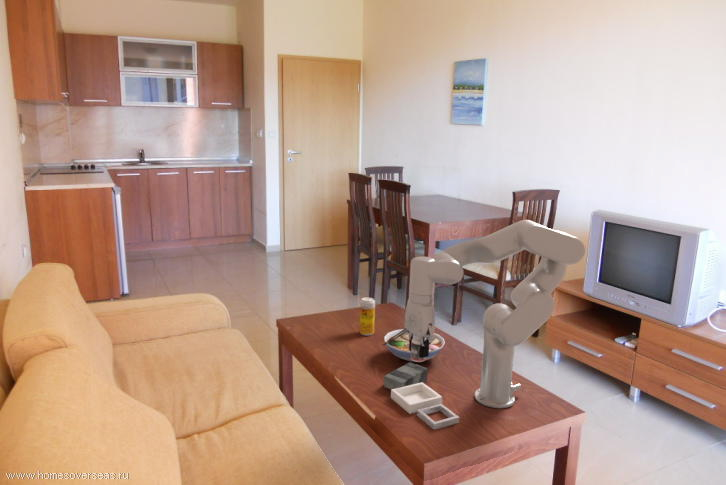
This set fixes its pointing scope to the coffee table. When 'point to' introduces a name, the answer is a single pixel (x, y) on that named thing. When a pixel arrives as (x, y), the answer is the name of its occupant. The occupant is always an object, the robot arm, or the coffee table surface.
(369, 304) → the glass of beer
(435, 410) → the square open frame
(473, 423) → the coffee table surface
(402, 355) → the ramen bowl
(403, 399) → the tray
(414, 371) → the stone block
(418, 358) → the pill bottle
